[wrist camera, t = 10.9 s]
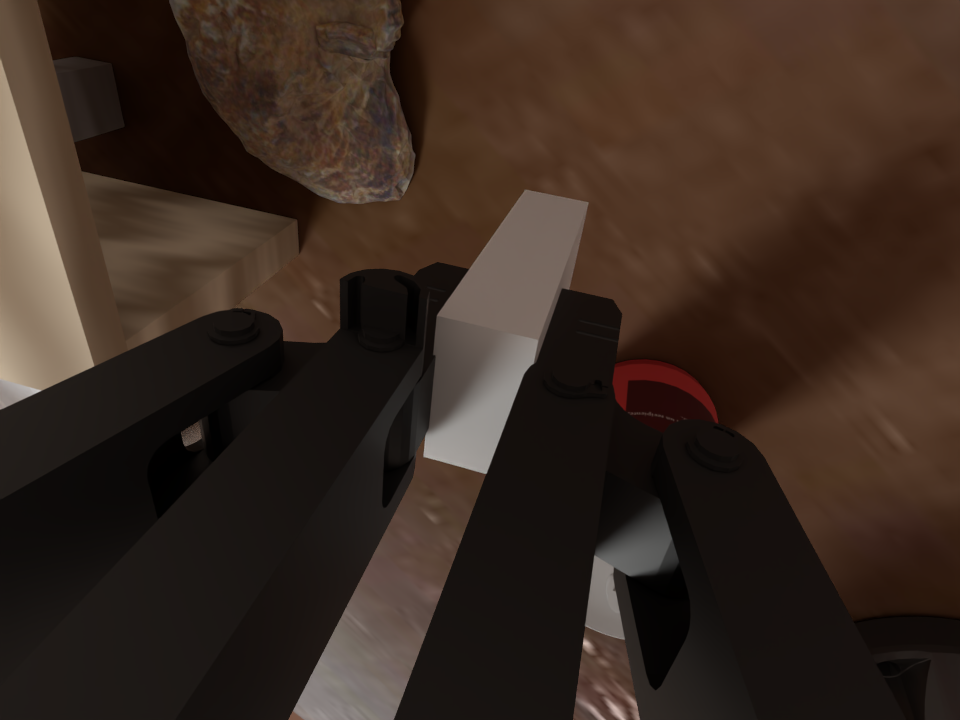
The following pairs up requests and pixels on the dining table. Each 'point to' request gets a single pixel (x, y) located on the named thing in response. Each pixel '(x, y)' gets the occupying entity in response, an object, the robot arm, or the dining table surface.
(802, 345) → the dining table surface
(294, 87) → the oyster shell
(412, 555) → the dining table surface
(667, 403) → the canned food
